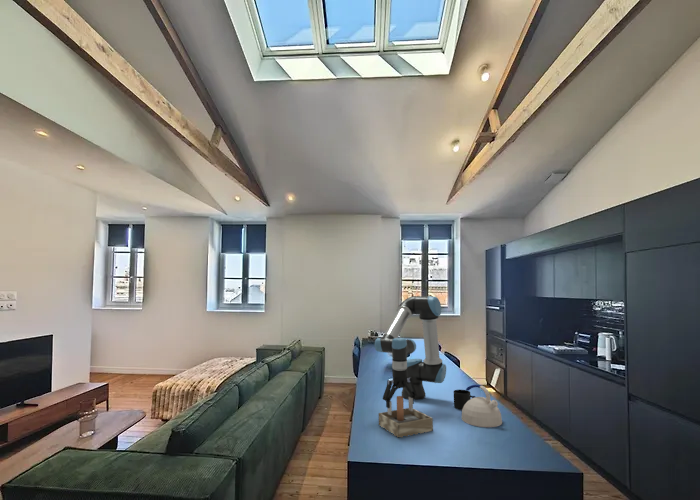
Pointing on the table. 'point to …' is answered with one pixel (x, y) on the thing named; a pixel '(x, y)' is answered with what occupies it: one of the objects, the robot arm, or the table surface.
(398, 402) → the peg
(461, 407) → the mug
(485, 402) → the kettle
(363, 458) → the table surface
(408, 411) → the box
